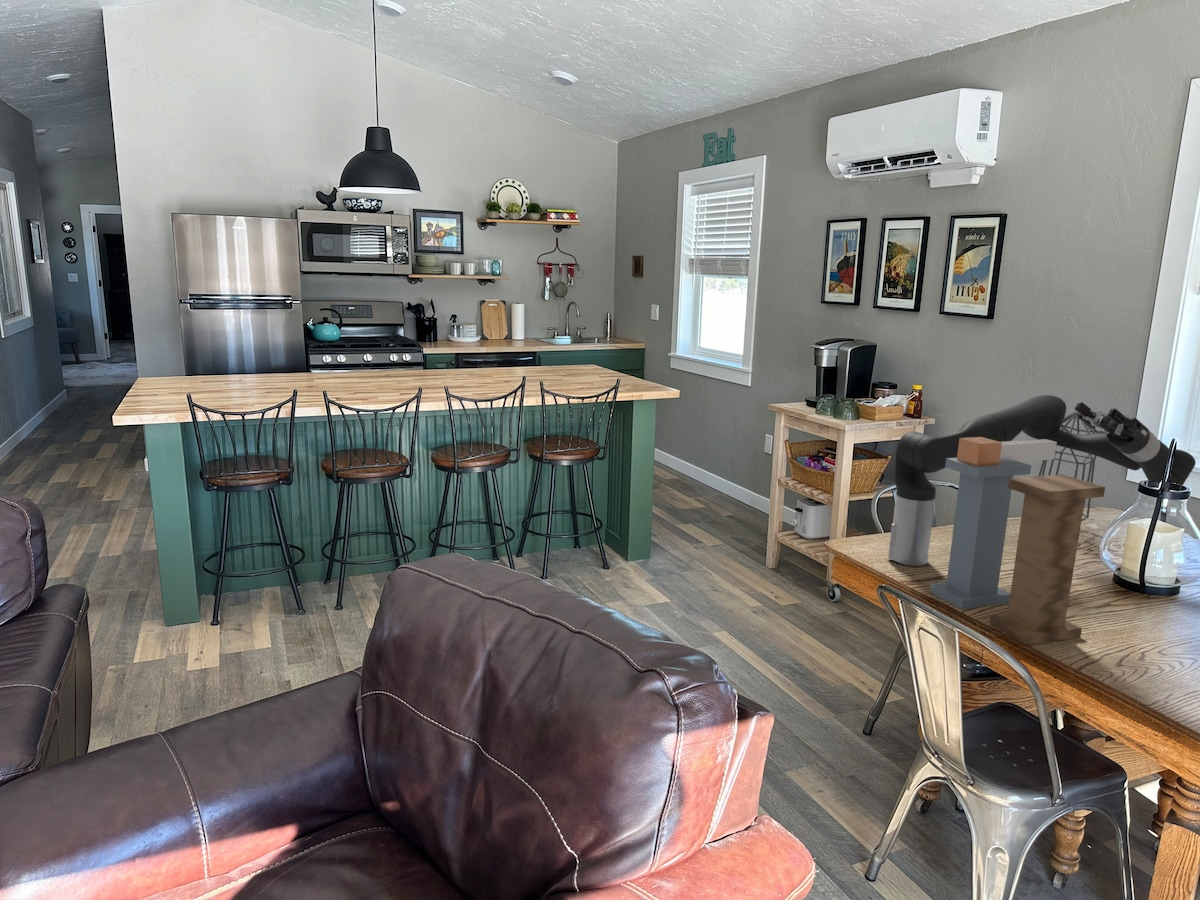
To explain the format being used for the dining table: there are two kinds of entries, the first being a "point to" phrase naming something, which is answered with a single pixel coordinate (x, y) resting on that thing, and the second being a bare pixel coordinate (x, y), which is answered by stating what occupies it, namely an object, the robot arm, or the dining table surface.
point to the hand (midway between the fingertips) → (1093, 408)
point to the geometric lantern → (1066, 418)
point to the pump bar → (1003, 451)
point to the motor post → (978, 534)
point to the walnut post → (1045, 558)
